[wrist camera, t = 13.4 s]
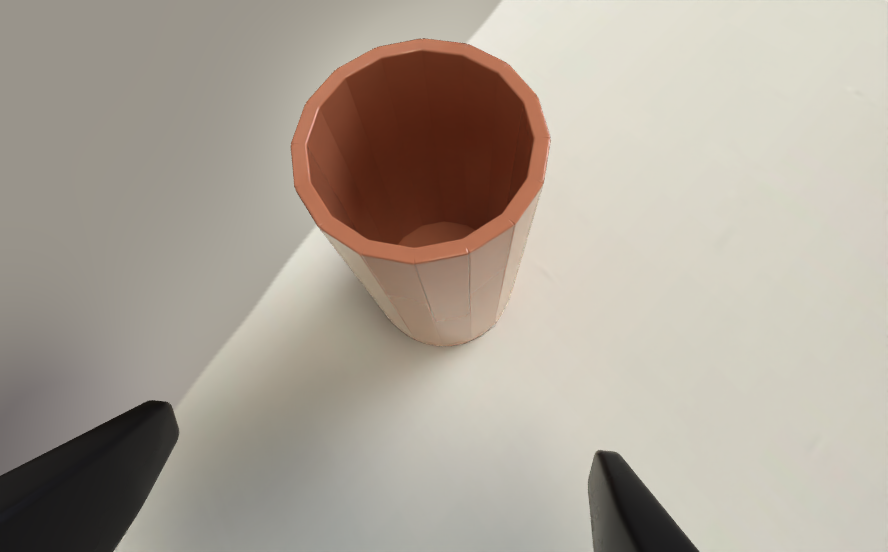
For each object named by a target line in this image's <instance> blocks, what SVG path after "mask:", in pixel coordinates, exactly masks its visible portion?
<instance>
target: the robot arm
mask: <svg viewBox="0 0 888 552" xmlns="http://www.w3.org/2000/svg"><path fill="white" fill-rule="evenodd" d="M178 436H179V428H178V424H177V421H176V418H175V415H174V411H173V408H172V406H171V404H169V403H168V402H163V401H153V400H152V401H147V402H145V403H143V404H141V405H139V406H137V407H135V408H133V409H131V410H129V411H127V412H125V413H123V414H121V415H119V416H117V417H115V418H113V419H111V420H109V421H107V422H105V423H103V424H101V425H99V426H98V427H96V428H94V429H92V430H90V431H88V432H86V433H84V434H82V435H80V436H78V437H76V438H74V439H72V440H70V441H68V442H66V443H64V444H62V445H60V446H58V447H56V448H54V449H52V450H50V451H48V452H47V453H44V454H42V455H41V456H39V457H37V458H35V459H33V460H31V461H29V462H27V463H25V464H23V465H21V466H19V467H17V468H15V469H13V470H11V471H9V472H7V473H5V474H3V475H1V476H0V552H113V551H114V550H115V548H116V547H117V545H118V544H119V542H120V540H121V539H122V537H123V536H124V534H125V533H126V531H127V530H128V528H129V527H130V525H131V524H132V522H133V521H134V519H135V517H136V516H137V514H138V512H139V511H140V509H141V508H142V506H143V504H144V502H145V500H146V499H147V497H148V495H149V493H150V491H151V489H152V487H153V486H154V484H155V482H156V480H157V478H158V476H159V474H160V472H161V471H162V469H163V467H164V465H165V463H166V461H167V459H168V457H169V455H170V454H171V452H172V450H173V448H174V446H175V444H176V442H177V440H178ZM588 494H589V505H590V516H591V527H592V538H593V548H594V552H699V551H698V549H697V548H696V547H695V546H694V544H693V543H692V542H691V541H690V540H689V538H688V537H687V536H686V535H685V533H684V532H683V531H682V530H681V529H680V527H679V526H678V525H677V524H676V522H675V521H674V520H673V519H672V518H671V516H670V515H669V514H668V513H667V511H666V510H665V509H664V508H663V507H662V505H661V504H660V503H659V502H658V500H657V499H656V498H655V497H654V496H653V494H652V493H651V492H650V491H649V489H648V488H647V487H646V486H645V485H644V483H643V482H642V481H641V480H640V478H639V477H638V476H637V475H636V474H635V472H634V471H633V470H632V469H631V467H630V466H629V465H628V464H627V463H626V461H625V460H624V459H623V458H622V457H621V455H620V454H618V453H617V452H612V451H603V450H598V451H596V453H595V455H594V459H593V463H592V467H591V471H590V474H589V479H588Z"/></svg>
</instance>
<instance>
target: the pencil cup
mask: <svg viewBox="0 0 888 552" xmlns="http://www.w3.org/2000/svg"><path fill="white" fill-rule="evenodd" d="M550 142H551V140H550V134H549V131H548V128H547V124H546V121H545V118H544V115H543V111H542V108H541V105H540V101H539V98H538V97H537V95H536V94H535V93H534V92H533V90H532V89H531V88H530V87H529V86H528V85H527V84H526V83H525V82H524V80H523V79H522V78H521V77H520V76H519V75H518V74H517V73H516V72H515V70H514V69H513V68H512V67H511V66H510V65H508V64H507V63H506V62H504V61H502V60H500V59H498V58H496V57H494V56H492V55H490V54H488V53H486V52H484V51H482V50H480V49H478V48H476V47H474V46H472V45H469V44H468V45H467V44H466V43H457V42H449V41H441V40H433V39H424V38H423V39H416V40H410V41H405V42H400V43H395V44H390V45H385V46H379V47H377V48H374V49H372V50H370V51H368V52H367V53H365V54H363V55H361V56H359V57H357V58H355V59H354V60H352V61H350V62H348V63H346V64H345V65H343V66H341V67H339V68H337V69H336V70H335V71H334V72H333V73H332V74H331V75H330V76H329V77H328V79H327V80H326V81H325V82H324V83H323V84H322V85H321V86H320V87H319V89H318V90H317V91H316V92H315V93H314V94H313V95H312V96H311V97H310V99H309V100H308V101H307V102H306V104H305V106H304V109H303V111H302V114H301V117H300V120H299V123H298V125H297V128H296V131H295V134H294V137H293V139H292V142H291V155H292V165H293V176H294V187H295V189H296V192H297V193H298V195H299V197H300V198H301V200H302V202H303V203H304V205H305V206H306V208H307V210H308V211H309V213H310V215H311V216H312V218H313V219H314V221H315V223H316V224H317V226H318V227H319V229H320V230H321V231H322V233H323V234H324V235H325V236H326V238H327V239H328V240H329V242H330V243H331V244H332V246H333V247H334V248H335V249H336V251H337V252H338V253H339V255H340V256H341V257H342V258H343V260H344V261H345V262H346V264H347V265H348V266H349V268H350V269H351V270H352V271H353V273H354V274H355V275H356V277H357V278H358V279H359V280H360V282H361V283H362V284H363V286H364V287H365V288H366V290H367V291H368V292H369V293H370V295H371V296H372V297H373V299H374V300H375V301H376V303H377V304H378V305H379V306H380V308H381V309H382V310H383V312H384V313H385V314H386V315H387V317H388V318H389V319H390V321H391V322H392V323H393V324H394V325H395V326H396V327H398V328H399V329H400V330H401V331H402V332H403V333H405V334H406V335H408V336H409V337H411V338H413V339H415V340H417V341H419V342H422V343H425V344H429V345H435V346H453V345H459V344H463V343H466V342H469V341H471V340H474V339H476V338H477V337H479V336H481V335H482V334H484V333H485V332H486V331H488V330H489V329H490V328H491V327H492V326H493V325H494V324H495V323H496V322H497V320H498V319H499V318H500V316H501V315H502V313H503V311H504V309H505V307H506V305H507V304H508V302H509V299H510V296H511V292H512V289H513V286H514V282H515V279H516V275H517V272H518V269H519V265H520V262H521V258H522V255H523V252H524V248H525V245H526V241H527V238H528V235H529V231H530V228H531V224H532V221H533V218H534V214H535V211H536V207H537V204H538V201H539V197H540V194H541V190H542V187H543V184H544V179H545V173H546V166H547V160H548V154H549V148H550Z"/></svg>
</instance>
